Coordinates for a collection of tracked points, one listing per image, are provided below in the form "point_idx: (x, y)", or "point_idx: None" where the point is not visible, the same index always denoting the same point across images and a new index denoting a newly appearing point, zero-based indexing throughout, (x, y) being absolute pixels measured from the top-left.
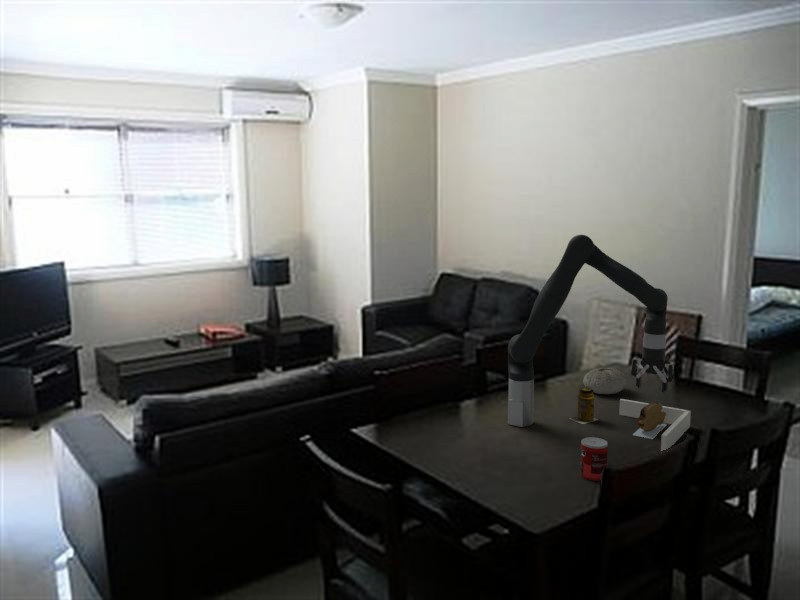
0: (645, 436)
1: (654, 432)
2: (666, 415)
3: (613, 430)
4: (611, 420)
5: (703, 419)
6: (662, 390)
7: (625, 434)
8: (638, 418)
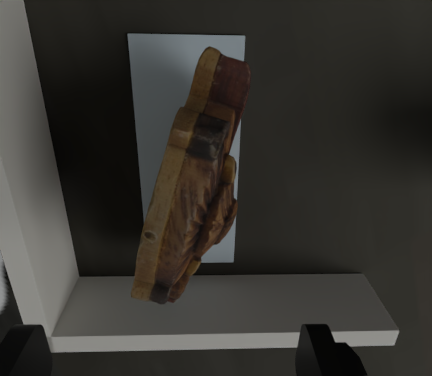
0: (173, 49)
1: (156, 138)
2: (153, 303)
3: (357, 55)
4: (387, 193)
5: (61, 373)
6: (22, 341)
7: (282, 27)
8: (234, 104)
